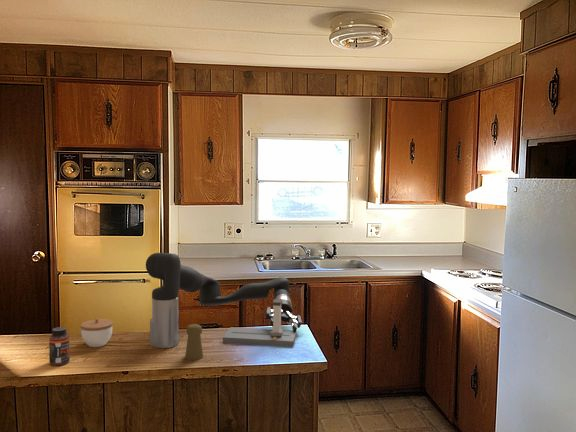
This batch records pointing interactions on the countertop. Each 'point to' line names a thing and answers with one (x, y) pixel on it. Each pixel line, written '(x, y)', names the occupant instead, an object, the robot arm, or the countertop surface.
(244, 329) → the slider console
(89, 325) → the lidded jar
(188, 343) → the pepper mill
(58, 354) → the supplement bottle
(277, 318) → the post
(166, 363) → the countertop surface
